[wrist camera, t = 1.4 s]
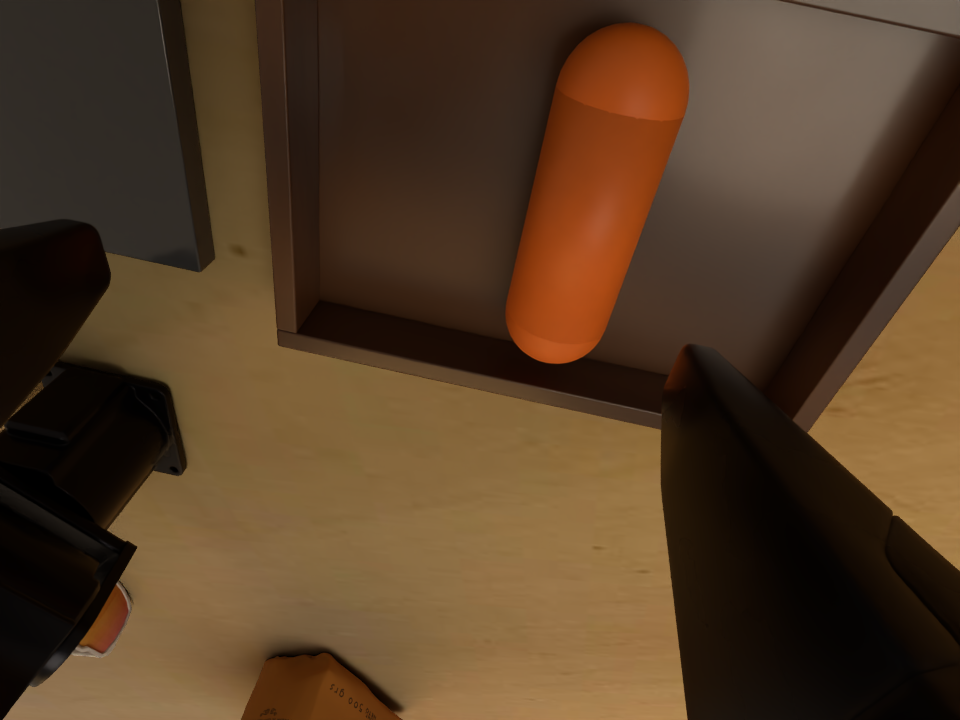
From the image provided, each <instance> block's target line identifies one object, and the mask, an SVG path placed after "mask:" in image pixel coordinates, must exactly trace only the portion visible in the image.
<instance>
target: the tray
mask: <svg viewBox="0 0 960 720" xmlns="http://www.w3.org/2000/svg"><path fill="white" fill-rule="evenodd" d="M255 9H256V24H257V39H258V54H259V69H260V84H261V99H262V114H263V129H264V143H265V158H266V173H267V188H268V203H269V218H270V233H271V248H272V263H273V278H274V293H275V308H276V323H277V338H278V345H279V346H282V347H287V348H291V349H296V350H300V351H305V352H309V353H314V354H319V355H323V356H328V357H332V358H337V359H341V360H346V361H350V362H355V363H360V364H364V365H369V366H373V367H378V368H382V369H387V370H392V371H396V372H401V373H405V374H410V375H414V376H419V377H423V378H428V379H433V380H437V381H442V382H446V383H451V384H455V385H460V386H465V387H469V388H474V389H478V390H483V391H487V392H492V393H496V394H501V395H506V396H510V397H515V398H519V399H524V400H528V401H533V402H538V403H542V404H547V405H551V406H556V407H560V408H565V409H569V410H574V411H579V412H583V413H588V414H592V415H597V416H601V417H606V418H611V419H615V420H620V421H624V422H629V423H633V424H638V425H643V426H647V427H652V428H656V429H661V414H662V393H663V389H664V386H665V383H666V381H667V379H668V377H669V374H670V372H671V370H672V368H673V365H674V363H675V361H676V359H677V357H678V354H679V352H680V350H681V349H682V347H683V346H684V345H686V344H688V343H691V344H697V345H702V346H707V347H711V348H714V349H715V350H717V351H718V352H719V353H720V354H721V355H722V356H723V357H724V358H725V359H726V360H727V361H729V362H730V363H731V364H732V365H733V366H734V367H735V368H736V369H737V370H738V371H740V372H741V373H742V374H743V375H744V376H745V377H746V378H747V379H748V380H749V381H751V382H752V383H753V384H754V385H755V386H756V387H757V388H758V389H759V390H760V391H761V392H763V393H764V394H765V395H766V396H767V397H768V398H769V399H770V400H771V401H772V402H774V403H775V404H776V405H777V406H778V407H779V408H780V409H781V410H782V411H783V412H784V413H786V414H787V415H788V416H789V417H790V418H791V419H792V420H793V421H794V422H795V423H797V424H798V425H799V426H800V427H801V428H802V429H803V430H804V431H805V432H806V433H807V432H808V431H809V430H810V428H811V427H812V426H813V424H814V423H815V422H816V420H817V419H818V418H819V416H820V415H821V413H822V412H823V411H824V409H825V408H826V407H827V405H828V404H829V403H830V401H831V400H832V399H833V397H834V396H835V394H836V393H837V392H838V390H839V389H840V388H841V386H842V385H843V384H844V382H845V381H846V380H847V378H848V377H849V375H850V374H851V373H852V371H853V370H854V369H855V367H856V366H857V365H858V363H859V362H860V361H861V359H862V358H863V356H864V355H865V354H866V352H867V351H868V350H869V348H870V347H871V346H872V344H873V343H874V342H875V340H876V339H877V337H878V336H879V335H880V333H881V332H882V331H883V329H884V328H885V327H886V325H887V324H888V323H889V321H890V320H891V318H892V317H893V316H894V314H895V313H896V312H897V310H898V309H899V308H900V306H901V305H902V303H903V302H904V301H905V299H906V298H907V297H908V295H909V294H910V293H911V291H912V290H913V289H914V287H915V286H916V284H917V283H918V282H919V280H920V279H921V278H922V276H923V275H924V274H925V272H926V271H927V270H928V268H929V267H930V265H931V264H932V263H933V261H934V260H935V259H936V257H937V256H938V255H939V253H940V252H941V251H942V249H943V248H944V246H945V245H946V244H947V242H948V241H949V240H950V238H951V237H952V236H953V234H954V233H955V232H956V230H957V229H958V227H959V226H960V0H255ZM628 22H632V23H639V24H643V25H647V26H650V27H653V28H655V29H657V30H658V31H660V32H661V33H663V34H665V35H666V36H667V37H668V38H669V39H670V40H671V41H672V42H673V43H674V44H675V45H676V47H677V48H678V50H679V52H680V53H681V55H682V56H683V59H684V62H685V65H686V68H687V71H688V78H689V86H690V87H689V100H688V104H687V108H686V112H685V115H684V118H683V121H682V124H681V126H680V129H679V132H678V134H677V137H676V140H675V143H674V145H673V148H672V151H671V153H670V156H669V159H668V162H667V164H666V167H665V170H664V172H663V175H662V178H661V180H660V183H659V186H658V189H657V191H656V194H655V197H654V199H653V202H652V205H651V208H650V210H649V213H648V216H647V218H646V221H645V224H644V227H643V229H642V232H641V235H640V237H639V240H638V243H637V246H636V248H635V251H634V254H633V256H632V259H631V262H630V265H629V267H628V270H627V273H626V275H625V278H624V281H623V284H622V286H621V289H620V292H619V294H618V297H617V300H616V303H615V305H614V308H613V311H612V313H611V316H610V319H609V322H608V324H607V327H606V330H605V332H604V334H603V336H602V337H601V339H600V341H599V343H598V344H597V345H596V346H595V347H594V348H593V349H592V350H591V351H590V352H589V353H587V354H586V355H585V356H583V357H581V358H579V359H577V360H574V361H572V362H568V363H562V364H551V363H545V362H541V361H538V360H536V359H534V358H532V357H530V356H529V355H527V354H526V353H524V352H523V351H522V350H521V349H520V348H519V347H518V346H517V345H516V343H515V342H514V341H513V339H512V337H511V335H510V333H509V330H508V327H507V324H506V317H505V310H506V301H507V297H508V293H509V288H510V284H511V280H512V275H513V271H514V266H515V262H516V258H517V253H518V249H519V245H520V240H521V236H522V231H523V227H524V223H525V218H526V214H527V210H528V205H529V201H530V196H531V192H532V188H533V183H534V179H535V175H536V170H537V166H538V162H539V157H540V153H541V148H542V144H543V140H544V135H545V131H546V127H547V122H548V118H549V113H550V109H551V105H552V100H553V96H554V92H555V87H556V83H557V80H558V77H559V74H560V71H561V69H562V67H563V65H564V64H565V62H566V60H567V58H568V57H569V55H570V54H571V53H572V51H573V50H574V49H575V48H576V46H577V45H578V44H579V43H580V42H582V41H583V40H584V39H585V38H586V37H587V36H589V35H590V34H592V33H594V32H596V31H597V30H599V29H601V28H604V27H607V26H610V25H613V24H618V23H628Z"/></svg>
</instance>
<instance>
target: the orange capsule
mask: <svg viewBox="0 0 960 720" xmlns="http://www.w3.org/2000/svg"><path fill="white" fill-rule="evenodd" d="M689 87H690V86H689V78H688V71H687V68H686V65H685V62H684V59H683V56H682V55H681V53H680V52H679V50H678V48H677V47H676V45H675V44H674V43H673V42H672V41H671V40H670V39H669V38H668V37H667V36H666V35H665V34H663V33H661V32H660V31H658V30H657V29H655V28H653V27H650V26H647V25H643V24H639V23H632V22H628V23H618V24H613V25H610V26H607V27H604V28H601V29H599V30H597V31H596V32H594V33H592V34H590V35H589V36H587V37H586V38H585V39H584V40H583V41H582V42H580V43H579V44H578V45H577V46H576V48H575V49H574V50H573V51H572V53H571V54H570V55H569V57H568V58H567V60H566V62H565V64H564V65H563V67H562V69H561V71H560V74H559V77H558V80H557V83H556V87H555V92H554V96H553V100H552V105H551V109H550V113H549V118H548V122H547V127H546V131H545V135H544V140H543V144H542V148H541V153H540V157H539V162H538V166H537V170H536V175H535V179H534V183H533V188H532V192H531V196H530V201H529V205H528V210H527V214H526V218H525V223H524V227H523V231H522V236H521V240H520V245H519V249H518V253H517V258H516V262H515V266H514V271H513V275H512V280H511V284H510V288H509V293H508V297H507V301H506V310H505V317H506V324H507V327H508V330H509V333H510V335H511V337H512V339H513V341H514V342H515V343H516V345H517V346H518V347H519V348H520V349H521V350H522V351H523V352H524V353H526V354H527V355H529V356H530V357H532V358H534V359H536V360H538V361H541V362H545V363H551V364H562V363H568V362H572V361H574V360H577V359H579V358H581V357H583V356H585V355H586V354H587V353H589V352H590V351H591V350H592V349H593V348H594V347H595V346H596V345H597V344H598V343H599V341H600V339H601V337H602V336H603V334H604V332H605V330H606V327H607V324H608V322H609V319H610V316H611V313H612V311H613V308H614V305H615V303H616V300H617V297H618V294H619V292H620V289H621V286H622V284H623V281H624V278H625V275H626V273H627V270H628V267H629V265H630V262H631V259H632V256H633V254H634V251H635V248H636V246H637V243H638V240H639V237H640V235H641V232H642V229H643V227H644V224H645V221H646V218H647V216H648V213H649V210H650V208H651V205H652V202H653V199H654V197H655V194H656V191H657V189H658V186H659V183H660V180H661V178H662V175H663V172H664V170H665V167H666V164H667V162H668V159H669V156H670V153H671V151H672V148H673V145H674V143H675V140H676V137H677V134H678V132H679V129H680V126H681V124H682V121H683V118H684V115H685V112H686V108H687V104H688V100H689Z"/></svg>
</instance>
